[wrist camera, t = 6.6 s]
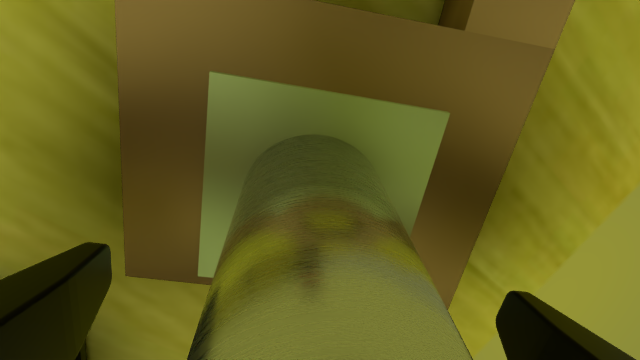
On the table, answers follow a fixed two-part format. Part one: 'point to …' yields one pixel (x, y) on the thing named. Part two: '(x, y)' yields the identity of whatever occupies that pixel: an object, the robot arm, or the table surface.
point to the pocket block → (320, 113)
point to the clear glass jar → (321, 268)
